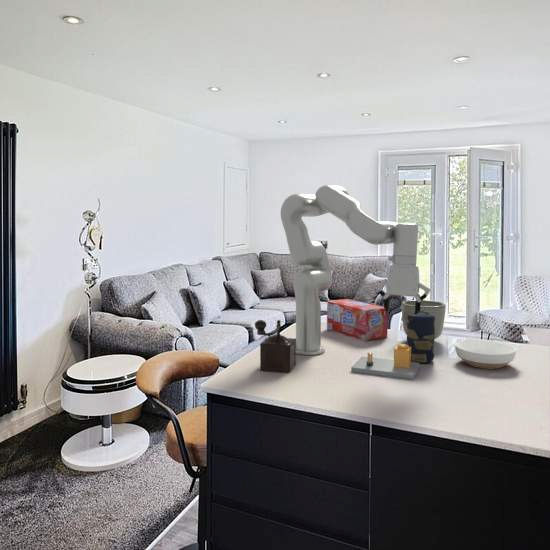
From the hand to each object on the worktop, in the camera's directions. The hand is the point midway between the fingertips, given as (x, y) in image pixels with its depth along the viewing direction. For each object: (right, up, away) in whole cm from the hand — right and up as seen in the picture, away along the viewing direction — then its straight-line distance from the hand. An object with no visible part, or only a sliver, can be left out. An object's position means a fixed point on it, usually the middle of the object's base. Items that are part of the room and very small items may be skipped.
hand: (401, 311), depth 160 cm
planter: (+19, -15, +39) cm, 46 cm away
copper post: (-10, -20, +2) cm, 22 cm away
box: (-6, -14, +54) cm, 56 cm away
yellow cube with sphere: (+1, -18, +2) cm, 18 cm away
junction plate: (-5, -20, +2) cm, 20 cm away
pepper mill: (-42, -20, +3) cm, 46 cm away
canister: (+10, -19, +12) cm, 24 cm away
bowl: (+31, -19, +8) cm, 37 cm away
